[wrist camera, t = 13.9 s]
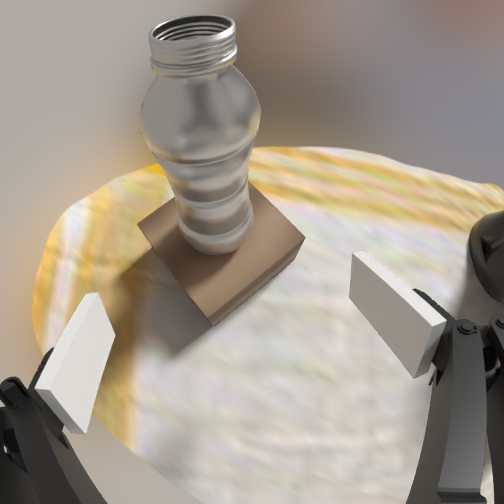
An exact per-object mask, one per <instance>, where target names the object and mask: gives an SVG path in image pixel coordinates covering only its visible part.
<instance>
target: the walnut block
mask: <svg viewBox="0 0 504 504" xmlns="http://www.w3.org/2000/svg"><path fill="white" fill-rule="evenodd" d="M247 182H248V191H249V198H250V201H251V204H252V208H253V214H254V223H253V227H252V229H251V232H250V234H249V236H248V238H247V240H246V241H245V242H244V243H243V244H242V245H241V246H240V247H239V248H238V249H236V250H234V251H233V252H230V253H227V254H223V255H208V254H204V253H201V252H199V251H197V250H196V249H194V248H193V247H192V246H191V245H190V244H189V243H188V242H187V241H186V240H185V239H184V237H183V236H182V234H181V232H180V229H179V225H178V217H177V205H176V200H175V197H174V198H173V199H171V200H170V201H168V202H167V203H165V204H164V205H162V206H161V207H160V208H158V209H157V210H155V211H154V212H153V213H151V214H150V215H148V216H147V217H146V218H144V219H143V220H142V221H140V222H139V223H138V224H137V225H138V226H139V228H140V230H141V231H142V233H143V234H144V236H145V237H146V239H147V240H148V241H149V243H150V244H151V246H152V247H153V249H154V250H155V251H156V253H157V254H158V256H159V257H160V258H161V260H162V261H163V262H164V264H165V265H166V266H167V268H168V269H169V270H170V272H171V273H172V274H173V276H174V277H175V278H176V280H177V281H178V282H179V284H180V285H181V286H182V288H183V289H184V290H185V291H186V293H187V294H188V295H189V296H190V298H191V299H192V300H193V302H194V303H195V304H196V305H197V307H198V308H199V309H200V310H201V312H202V313H203V314H204V315H205V316H206V318H207V319H208V320H209V321H210V323H211V324H212V325H213V326H214V325H216V324H217V323H218V322H219V321H221V320H222V319H223V318H224V317H226V316H227V315H228V314H229V313H230V312H232V311H233V310H234V309H235V308H237V307H238V306H239V305H240V304H242V303H243V302H244V301H245V300H246V299H248V298H249V297H250V296H251V295H252V294H254V293H255V292H256V291H257V290H258V289H260V288H261V287H262V286H263V285H264V284H266V283H267V282H268V281H269V280H270V279H272V278H273V277H274V276H275V275H276V274H278V273H279V272H280V271H281V270H282V269H284V268H285V267H286V266H287V265H288V264H289V263H291V262H292V261H293V260H294V259H295V257H296V255H297V253H298V251H299V249H300V247H301V245H302V243H303V241H304V239H305V236H304V235H303V234H302V233H301V232H300V231H299V230H298V229H297V228H296V227H295V226H294V225H293V224H292V223H291V222H290V221H289V220H288V219H287V218H286V217H285V216H284V215H283V214H282V213H281V212H280V211H279V210H278V209H277V208H276V207H275V206H274V205H273V204H272V203H271V202H270V201H269V200H268V199H267V198H266V197H265V196H263V195H262V194H261V193H260V192H259V191H258V190H257V189H256V188H255V187H254V186H253V185H252V184H251V183H250V182H249V181H248V180H247Z"/></svg>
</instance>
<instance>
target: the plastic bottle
mask: <svg viewBox="0 0 504 504" xmlns="http://www.w3.org/2000/svg"><path fill="white" fill-rule="evenodd" d="M149 43H150V49H151V54H152V56H151V59H150V61H151V66H152V69H153V71H154V72H155V73H156V74H158V76H157V77H156V79H155V80H154V82H153V83H152V85H151V86H150V88H149V90H148V93H147V95H146V97H145V99H144V101H143V104H142V106H141V113H140V114H141V115H140V129H141V133H142V135H143V137H144V139H145V141H146V144H147V145H148V146H149V148H150V150H151V151H152V153H153V155H154V156H155V158H156V159H157V161H158V163H159V164H160V166H161V167H162V169H163V171H164V172H165V175H166V177H167V179H168V181H169V184H170V185H171V188H172V190H173V192H174V196H175V200H176V205H177V217H178V225H179V229H180V232H181V234H182V236H183V237H184V239H185V240H186V241H187V242H188V243H189V244H190V245H191V246H192V247H193V248H194V249H196V250H197V251H199V252H201V253H204V254H208V255H223V254H227V253H230V252H233V251H234V250H236V249H238V248H239V247H240V246H241V245H242V244H243V243H244V242H245V241H246V240H247V238H248V236H249V234H250V232H251V229H252V227H253V223H254V214H253V208H252V204H251V201H250V198H249V191H248V182H247V180H248V172H249V163H250V156H251V152H252V149H253V145H254V141H255V138H256V134H257V130H258V127H259V121H260V115H261V114H260V105H259V102H258V99H257V96H256V93H255V91H254V89H253V88H252V86H251V85H250V84H249V82H248V81H247V80H246V78H245V77H244V76H243V75H242V74H241V73H240V72H239V71H238V70H237V69H236V68H235V67H234V66H233V65H232V63H233V62H234V61H235V60H236V57H237V47H236V44H235V23H234V21H233V20H232V19H230V18H228V17H226V16H222V15H216V14H194V15H187V16H182V17H178V18H174V19H171V20H168V21H166V22H163V23H161V24H159V25H157V26H156V27H154V28H153V29H152V30H151V31H150V33H149Z"/></svg>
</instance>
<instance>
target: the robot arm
mask: <svg viewBox="0 0 504 504" xmlns="http://www.w3.org/2000/svg"><path fill="white" fill-rule="evenodd" d="M470 246H471V254H472V259H473V263H474V266H475V269H476V272H477V275H478V277H479V279H480V281H481V283H482V285H483V286H484V288H485V289H486V291H487V292H488V293H489V294H490V295H491V296H492V297H493V298H494V299H496V300H498V301H501V302H504V210H503V211H499V212H496V213H492V214H488V215H486V216H484V217H483V218H481V219H480V220H479V221H478V222H476V223H475V225H474V226H473V229H472V232H471V238H470ZM349 298H350V299H351V301H352V302H353V303H354V304H355V305H356V307H357V308H358V309H359V310H360V311H361V313H362V314H363V315H364V316H365V318H366V319H367V320H368V321H369V322H370V324H371V325H372V326H373V327H374V329H375V330H376V331H377V332H378V334H379V335H380V336H381V337H382V339H383V340H384V341H385V342H386V344H387V345H388V346H389V347H390V349H391V350H392V351H393V352H394V354H395V355H396V356H397V358H398V359H399V360H400V361H401V363H402V364H403V365H404V367H405V368H406V369H407V371H408V372H409V373H410V374H411V376H412V377H413V378H416V377H419V376H421V375H423V374H425V373H427V372H428V370H429V367H430V365H431V363H433V364H434V365H435V366H436V369H435V371H434V373H433V375H432V378H431V380H430V382H429V385H431V384H432V382H433V387H432V395H431V402H430V409H429V415H428V421H427V427H426V432H425V437H424V442H423V446H422V451H421V455H420V459H419V463H418V466H417V470H416V474H415V477H414V481H413V484H412V487H411V490H410V493H409V496H408V499H407V502H406V504H487V501H486V498H485V497H484V496H482V495H481V494H480V486H481V480H482V474H483V466H484V457H485V445H486V431H487V436H488V442H489V448H490V455H491V463H492V472H493V483H494V504H504V315H500V314H496V315H493V316H492V317H491V319H490V321H489V324H488V325H486V326H480V327H478V326H477V325H476V324H475V323H473V322H471V321H469V320H466V319H460V320H455V319H454V318H453V317H452V316H451V315H450V314H449V313H448V312H446V311H445V310H444V309H443V308H442V307H441V306H440V305H437V303H436V302H435V301H434V300H432V299H431V298H430V297H429V296H428V295H427V294H425V293H424V292H422V291H420V290H417V289H411V288H410V287H408V286H407V285H406V284H405V283H404V282H403V281H401V280H400V279H399V278H398V277H397V276H395V275H394V274H393V273H392V272H391V271H389V270H388V269H387V268H386V267H384V266H383V265H382V264H381V263H380V262H378V261H377V260H376V259H375V258H373V257H372V256H371V255H370V254H368V253H367V252H366V251H360V252H354V253H352V265H351V280H350V293H349ZM114 338H115V333H114V331H113V328H112V326H111V324H110V321H109V319H108V316H107V314H106V311H105V309H104V306H103V304H102V301H101V299H100V296H99V293H98V292H97V293H90V294H86V295H85V296H84V298H83V300H82V301H81V303H80V304H79V306H78V308H77V309H76V311H75V313H74V314H73V316H72V318H71V319H70V321H69V323H68V325H67V326H66V328H65V330H64V332H63V333H62V335H61V337H60V339H59V341H58V342H57V344H56V346H55V348H51V349H50V350H49V351H48V352H47V353H46V354H45V356H44V358H43V360H42V362H41V364H40V365H39V367H38V371H36V373H35V375H34V377H33V379H32V381H31V384H30V386H29V388H28V390H27V389H26V388H25V386H24V385H23V383H22V382H21V380H20V379H19V378H17V377H10V378H7V379H6V380H4V381H3V382H2V383H1V384H0V400H1V401H2V402H3V403H4V405H5V407H0V504H107V502H106V501H105V500H104V498H103V497H102V495H101V494H100V493H99V491H98V490H97V488H96V487H95V485H94V484H93V482H92V481H91V479H90V477H89V476H88V474H87V473H86V471H85V469H84V468H83V466H82V464H81V463H80V461H79V459H78V457H77V456H76V454H75V452H74V450H73V448H72V447H71V445H70V443H69V441H68V439H67V437H66V435H65V434H64V433H63V432H62V430H63V426H64V425H65V426H66V428H67V429H68V430H69V431H70V432H71V433H76V434H86V433H87V429H88V425H89V421H90V417H91V413H92V409H93V405H94V402H95V398H96V395H97V391H98V388H99V384H100V381H101V378H102V374H103V371H104V368H105V365H106V362H107V359H108V356H109V353H110V350H111V347H112V344H113V341H114ZM498 361H500V364H501V366H500V368H499V367H498V364H497V363H498ZM4 446H5V447H6V448H7V453H5V451H4Z"/></svg>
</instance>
